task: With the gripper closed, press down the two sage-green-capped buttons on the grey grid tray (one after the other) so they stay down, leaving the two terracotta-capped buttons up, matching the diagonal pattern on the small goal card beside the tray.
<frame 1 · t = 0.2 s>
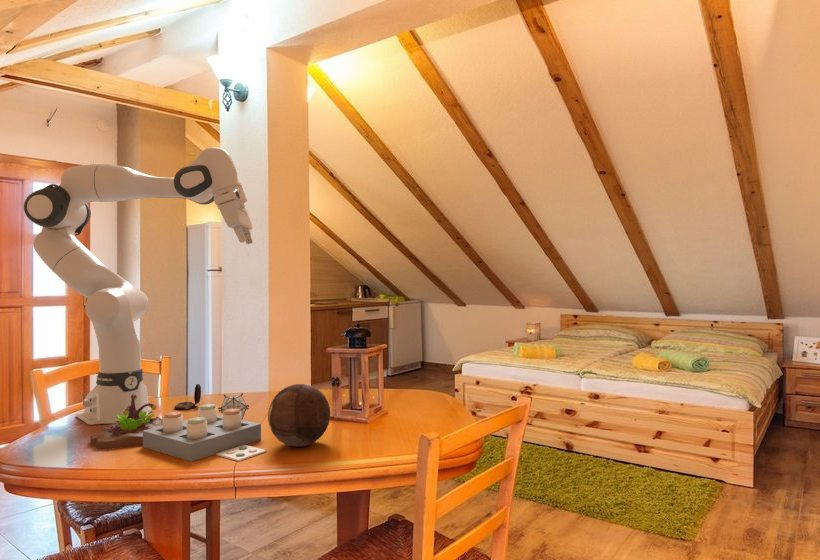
hand: (246, 242, 169), 52 cm above the table, tool tilted 20°, fingers open, 8 cm apart
button b: (207, 416, 147), point 5 cm above the table, slide at 0.0 cm
grey grid tray: (203, 443, 140), on the table
button a: (172, 425, 139), point 5 cm above the table, slide at 0.0 cm
wooden sphere: (300, 446, 137), on the table
plant: (134, 438, 147), on the table
button d: (232, 421, 141), point 5 cm above the table, slide at 0.0 cm
compass: (188, 409, 177), on the table
goal card: (241, 453, 131), on the table
button c: (197, 431, 133), point 5 cm above the table, slide at 0.0 cm
wireframe polyhedron: (233, 422, 159), on the table
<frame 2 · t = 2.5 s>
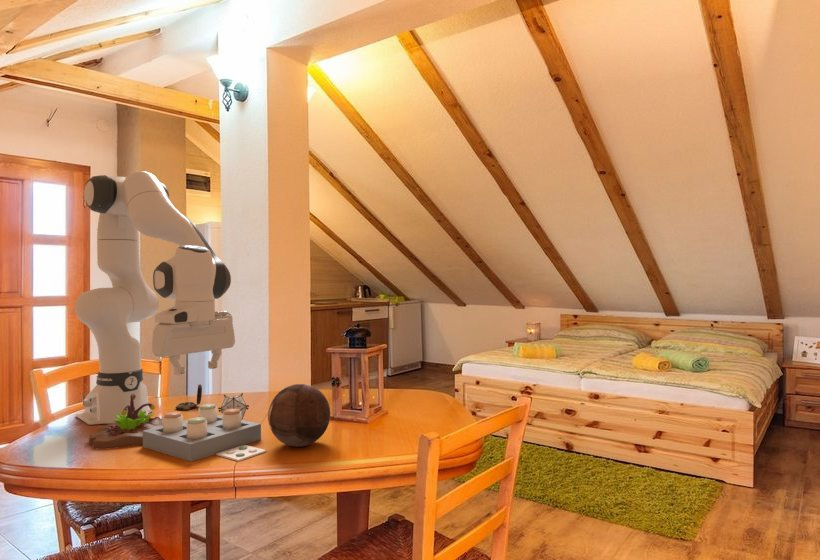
hand: (196, 371, 133), 19 cm above the table, tool pointing down, fingers open, 8 cm apart
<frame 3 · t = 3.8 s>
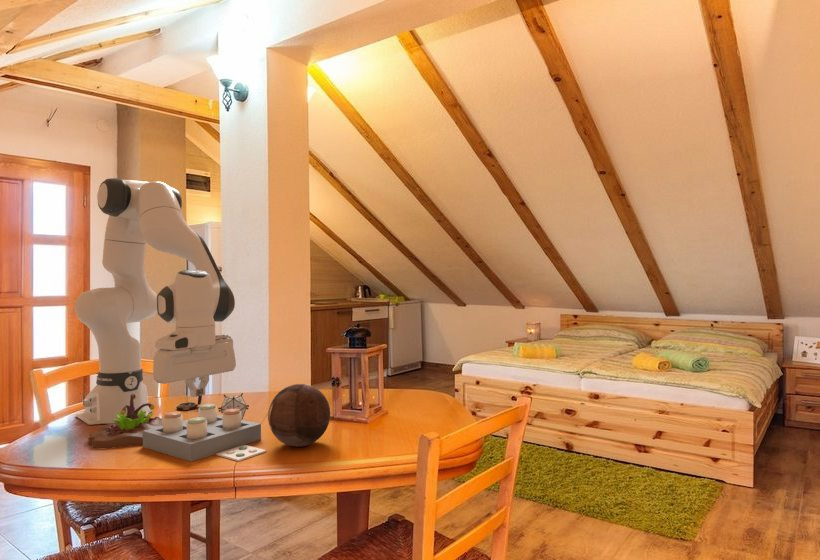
hand: (197, 396, 133), 13 cm above the table, tool pointing down, fingers closed
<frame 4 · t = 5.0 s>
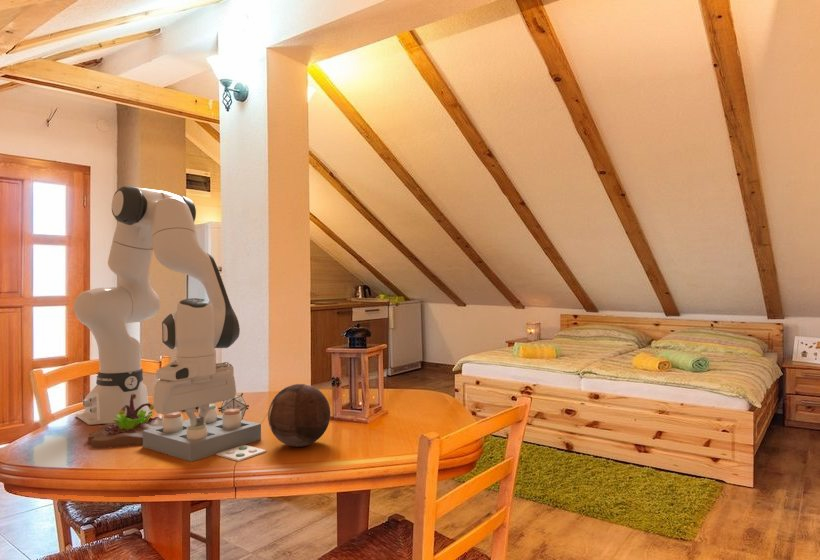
hand: (197, 424, 133), 7 cm above the table, tool pointing down, fingers closed, pressing on button c
button c: (197, 436, 133), point 4 cm above the table, slide at 1.3 cm, touching gripper
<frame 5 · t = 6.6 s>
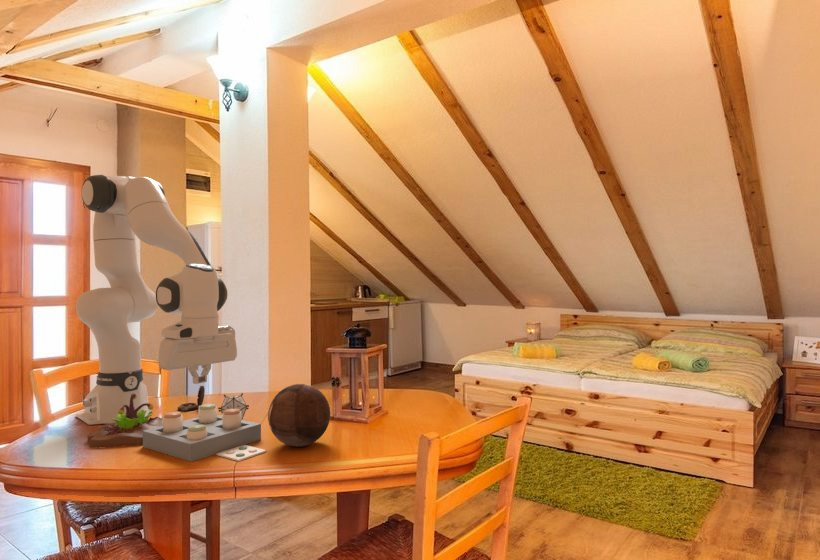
hand: (199, 382, 141), 15 cm above the table, tool pointing down, fingers closed
button c: (197, 438, 133), point 3 cm above the table, slide at 1.8 cm
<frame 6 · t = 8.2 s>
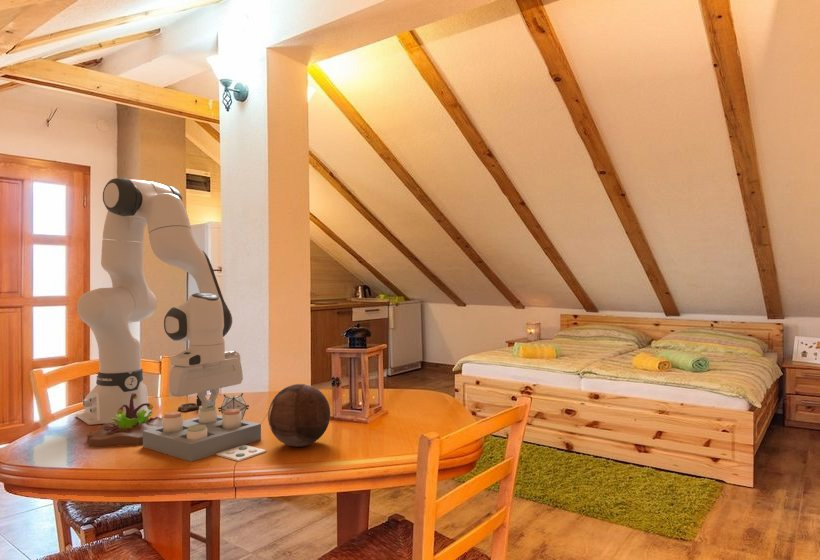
hand: (208, 407, 147), 7 cm above the table, tool pointing down, fingers closed, pressing on button b
button b: (207, 417, 147), point 5 cm above the table, slide at 0.4 cm, touching gripper
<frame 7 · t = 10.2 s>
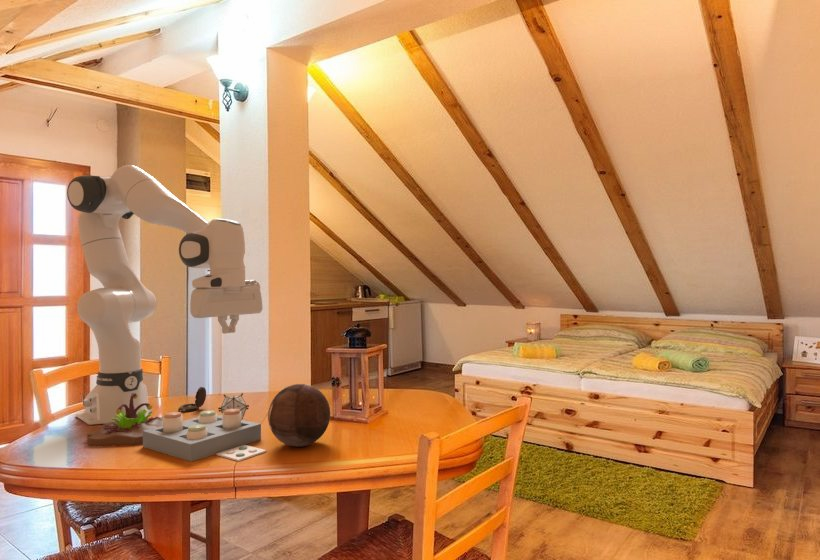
hand: (228, 333, 146), 27 cm above the table, tool pointing down, fingers closed
button b: (208, 422, 147), point 3 cm above the table, slide at 1.8 cm
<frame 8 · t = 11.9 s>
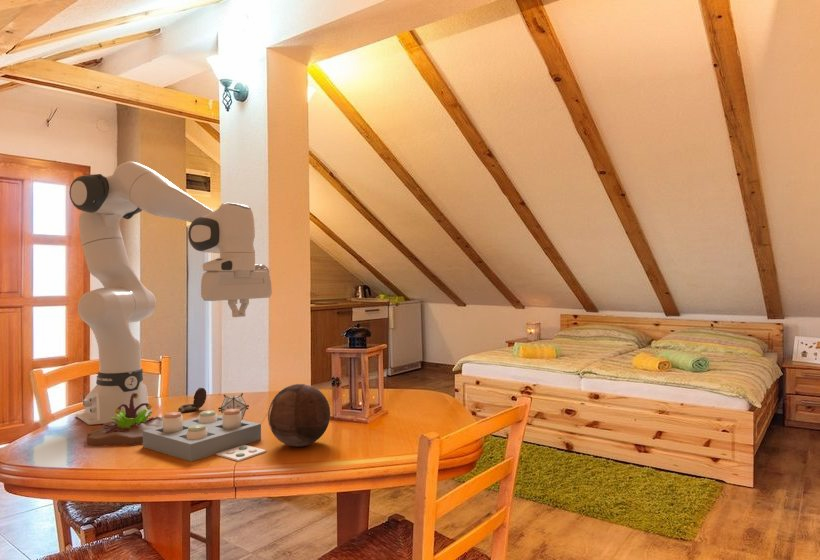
hand: (238, 316, 146), 31 cm above the table, tool pointing down, fingers closed
at the end: button c slide at 1.8 cm; button b slide at 1.8 cm; button a slide at 0.0 cm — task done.
